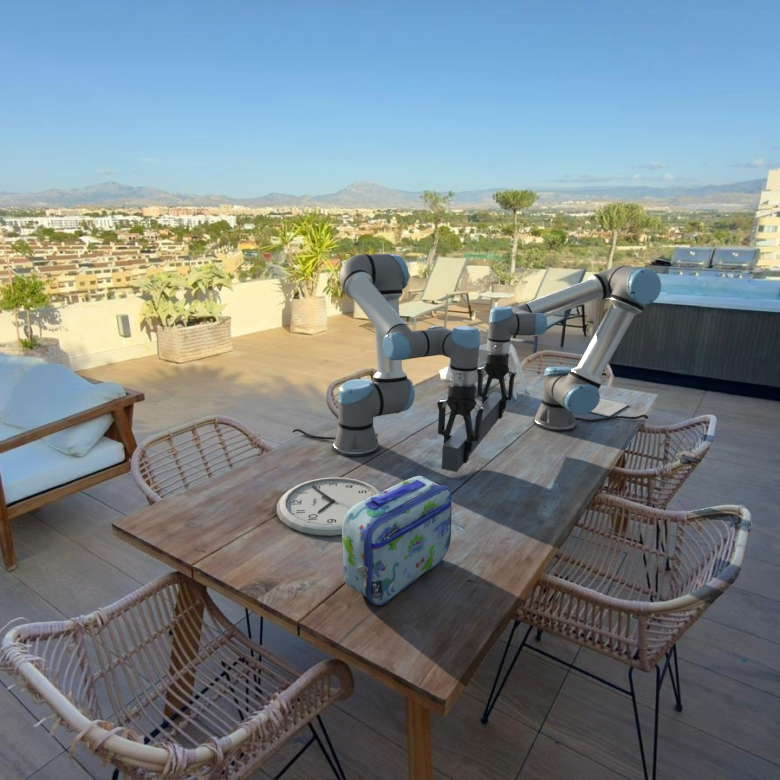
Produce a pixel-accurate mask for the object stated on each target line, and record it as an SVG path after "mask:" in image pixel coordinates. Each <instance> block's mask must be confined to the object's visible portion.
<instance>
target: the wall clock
mask: <svg viewBox="0 0 780 780" xmlns="http://www.w3.org/2000/svg"><path fill="white" fill-rule="evenodd" d="M380 492H382V491H381V490H380V489H379V488H377V487H376V486H374V485H372V484H371V483H369V482H365V481H362V480H359V479H355V478H349V477H338V476H337V477H335V476H333V477H332V476H331V477H322V478H317V479H312V480H307V481H305V482H302V483H299V484H297V485H295V486H293V487H292V488H290V489H288V490H287V491H286V492H285V493H284V494H283V495H281V496H280V498H279V499H278V502H277V503H276V515H277V517H278V518H279V520H280V521H281V522H282V523H283V524H285V525H286V526H287V527H288V528H290V529H293V530H295V531H297V532H299V533H303V534H308V535H312V536H327V537H328V536H329V537H331V536H332V537H333V536H342V525H343V521H344V518H345V516H346V514H347V512H348V511H349V510H350V509H351V508H352V507H353V506H354V505H356V504H358V503H360V502H362V501H364V500H366V499H368V498H370V497H372V496H374V495H376V494H378V493H380Z"/></svg>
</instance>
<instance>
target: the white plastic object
mask: <svg viewBox="0 0 780 780" xmlns="http://www.w3.org/2000/svg"><path fill="white" fill-rule="evenodd" d="M487 344H488V342H487V343H483V344H480V346H479V356H478V367H477V369H478V368H480V367H481V368H483V367H485V365H486V358H487V353H488V351H487ZM508 354H509V361H510V360H513V363H514V366H515V369H516V374H517V376H518V380H519V382H520V385H521V389H522V391H523V393H524V395H525V396H526V397H528V396H531V395H530V390H529V388H528V387H529V386H528V384H527V381H526V378H525V375H524V371H523V369H522V368H523V367H522V366H521V362H520V359H519V355H518V352H517V349H516V347H515V346H514V345H513V343H510V350H509V352H508ZM450 361H451V358H449V362H448V366H446V367H444V368H442V369H440V370H439V371H438V372H439V376H440V381H442V383H443V384H444V385H445V386H449V383H450V381H449V377H450ZM486 376H488V374H487V373H486V371H485V370H484V373H483V378H485V377H486ZM504 378H505V380H506V383H507V386H508V388H509V379H510V377H509V374H508V373H507V374H506V375H505V376H504ZM475 384H478V373H477V382H476V383H475ZM516 391H517V390H516V388H515V385H514V386H513V398H514V399H515V400H517V392H516Z"/></svg>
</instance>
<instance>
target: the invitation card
mask: <svg viewBox="0 0 780 780" xmlns="http://www.w3.org/2000/svg"><path fill="white" fill-rule="evenodd" d="M628 406H629V404H627V403H623V402H618V401H614V400H609V399H605V398H601V397H600V401H599V403H598V405H597V406H596V408H595V409H594V410H592V411H591V412H590V413H593V414H596V415H600V416H604V417H611V416H614V414H616V413H617V412H619V411H621V410H623V409H624V408H626V407H628Z"/></svg>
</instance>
